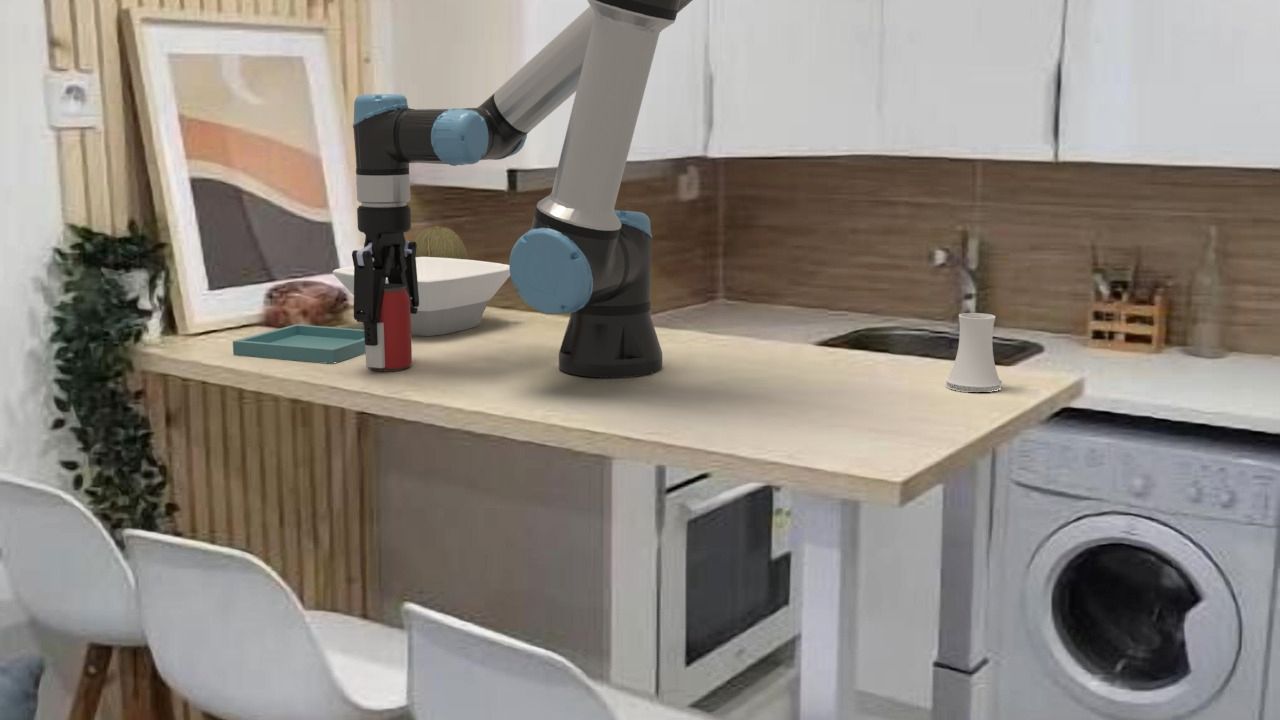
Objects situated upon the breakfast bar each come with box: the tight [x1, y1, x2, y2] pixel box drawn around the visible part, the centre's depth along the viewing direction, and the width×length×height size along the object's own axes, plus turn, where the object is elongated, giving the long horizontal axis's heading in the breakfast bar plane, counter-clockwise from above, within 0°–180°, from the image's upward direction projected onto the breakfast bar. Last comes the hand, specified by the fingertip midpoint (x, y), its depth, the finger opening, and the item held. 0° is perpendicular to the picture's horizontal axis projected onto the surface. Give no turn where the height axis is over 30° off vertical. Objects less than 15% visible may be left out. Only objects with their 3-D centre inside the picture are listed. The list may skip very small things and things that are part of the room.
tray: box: [232, 323, 366, 364], centre depth 214 cm, size 18×16×2 cm
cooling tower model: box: [944, 312, 1003, 393], centre depth 188 cm, size 8×8×10 cm
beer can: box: [368, 283, 413, 372], centre depth 200 cm, size 7×7×12 cm
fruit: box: [413, 225, 470, 260], centre depth 254 cm, size 11×11×15 cm
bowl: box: [332, 257, 511, 337], centre depth 233 cm, size 24×25×10 cm
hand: (389, 362), depth 201 cm, fingers closed on beer can, 6 cm apart
